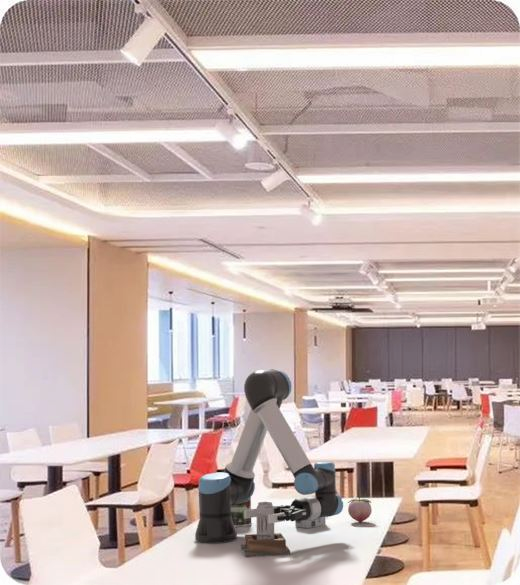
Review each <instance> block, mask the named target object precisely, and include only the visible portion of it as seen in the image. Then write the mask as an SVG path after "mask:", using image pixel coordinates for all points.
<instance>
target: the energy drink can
mask: <svg viewBox="0 0 520 585" xmlns="http://www.w3.org/2000/svg"><path fill="white" fill-rule="evenodd" d="M273 506H274V505H273V502H271V501H270V502H269V501H261V502H258V503H257V507H256V508H255V509H256V517H255V518H256V534H257V540H268V539H274V533H275V523H268V515H271V514H274V507H273Z"/></svg>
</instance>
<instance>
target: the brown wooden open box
mask: <svg viewBox="0 0 520 585" xmlns="http://www.w3.org/2000/svg"><path fill="white" fill-rule="evenodd" d="M286 541H287V539H286V538H285V537H284V536H283V534H282V533H281V532H274V539H268V540H257V533H252V534H244V543H241V544H240V545H241V546H240V548H241V550H242V552H243V554H244V555H245V557H246V558H248V557H249V558H251V557H252V558H253V557H268V556H269V557H270V556H283V555H284V556H285V555H287V556H288V555H291V550H290V549H289V547H288V546H287V542H286Z"/></svg>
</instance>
